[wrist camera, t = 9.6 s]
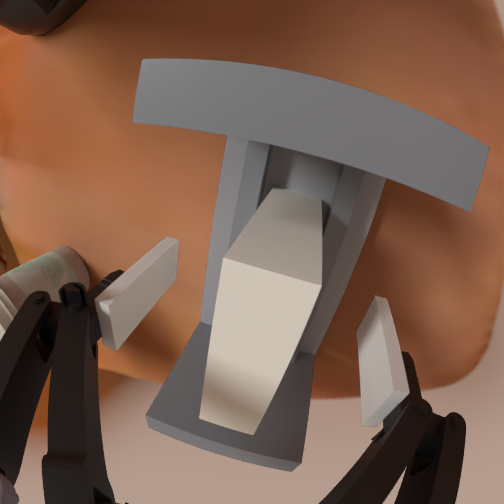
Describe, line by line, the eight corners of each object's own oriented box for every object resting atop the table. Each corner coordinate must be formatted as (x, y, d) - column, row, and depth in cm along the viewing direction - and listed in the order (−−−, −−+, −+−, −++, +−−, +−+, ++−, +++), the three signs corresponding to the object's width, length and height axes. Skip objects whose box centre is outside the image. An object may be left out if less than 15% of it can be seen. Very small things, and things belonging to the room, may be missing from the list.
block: (274, 185, 17) (223, 257, 8) (321, 198, 17) (321, 286, 8) (244, 311, 22) (199, 418, 13) (281, 322, 22) (253, 435, 13)
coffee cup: (109, 274, 25) (25, 352, 15) (88, 315, 29) (25, 381, 19) (56, 217, 24) (-33, 271, 13) (43, 266, 28) (-25, 318, 17)
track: (240, 90, 16) (142, 59, 6) (395, 131, 15) (489, 147, 5) (202, 330, 25) (148, 427, 16) (308, 361, 24) (291, 471, 14)
